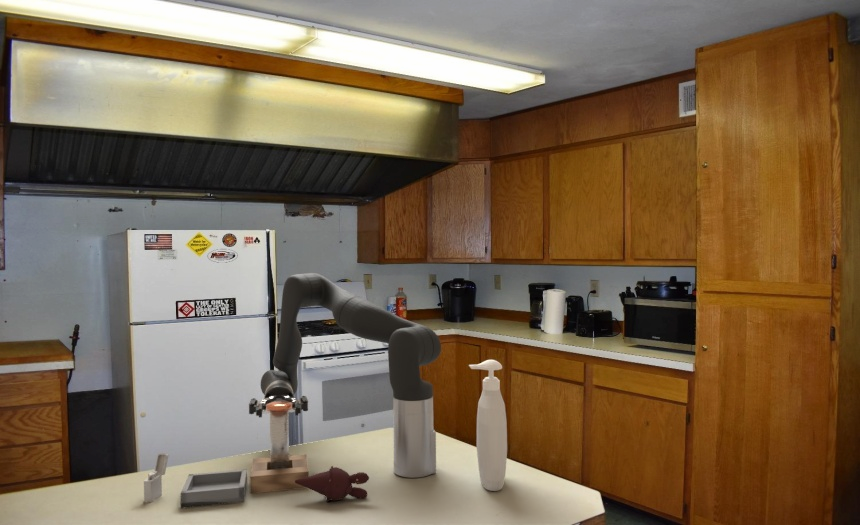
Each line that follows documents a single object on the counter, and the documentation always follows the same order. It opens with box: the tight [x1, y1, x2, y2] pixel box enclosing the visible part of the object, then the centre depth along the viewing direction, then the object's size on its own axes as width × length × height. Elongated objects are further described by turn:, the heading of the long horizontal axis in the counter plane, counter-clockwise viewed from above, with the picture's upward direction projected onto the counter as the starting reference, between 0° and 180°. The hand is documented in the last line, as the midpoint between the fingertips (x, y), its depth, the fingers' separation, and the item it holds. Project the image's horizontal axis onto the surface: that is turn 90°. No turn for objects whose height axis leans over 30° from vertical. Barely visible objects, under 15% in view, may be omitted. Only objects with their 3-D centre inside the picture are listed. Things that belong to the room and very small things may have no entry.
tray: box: [180, 468, 248, 509], centre depth 127 cm, size 12×11×3 cm
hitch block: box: [249, 453, 309, 494], centre depth 135 cm, size 12×12×4 cm
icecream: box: [295, 465, 370, 503], centre depth 124 cm, size 7×7×15 cm
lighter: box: [143, 453, 169, 503], centre depth 127 cm, size 7×2×8 cm, turn 176°
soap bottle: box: [468, 359, 508, 492], centre depth 131 cm, size 14×8×27 cm, turn 0°
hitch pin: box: [266, 401, 292, 470], centre depth 135 cm, size 6×6×17 cm
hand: (278, 412), depth 146 cm, fingers open, 8 cm apart
